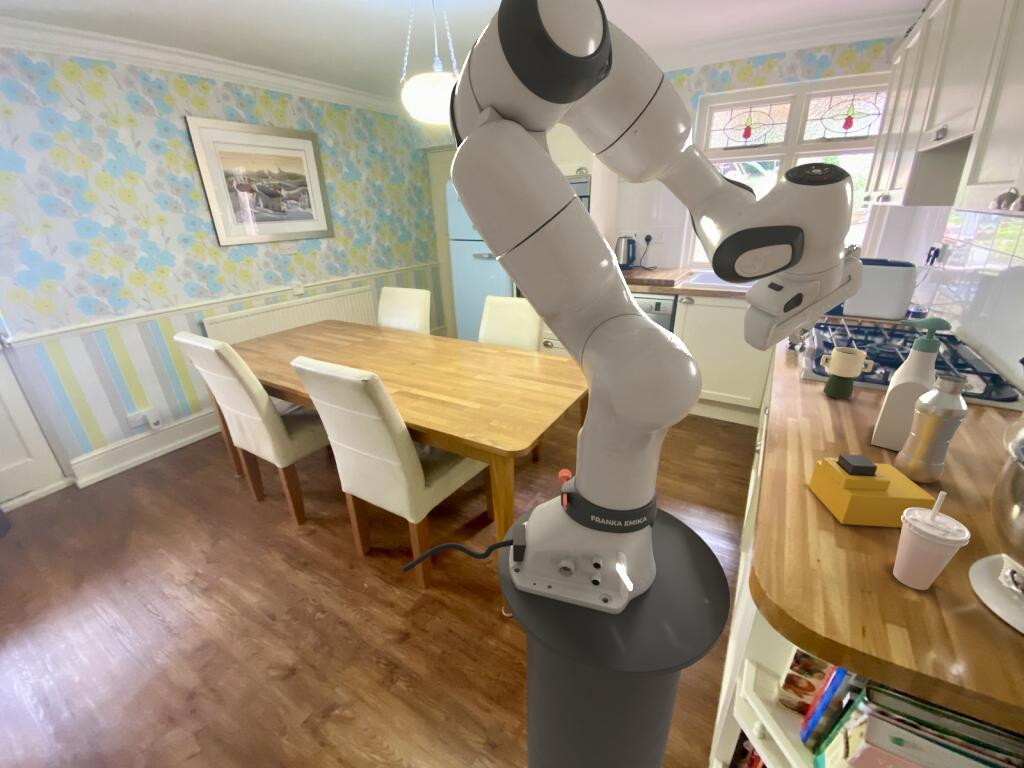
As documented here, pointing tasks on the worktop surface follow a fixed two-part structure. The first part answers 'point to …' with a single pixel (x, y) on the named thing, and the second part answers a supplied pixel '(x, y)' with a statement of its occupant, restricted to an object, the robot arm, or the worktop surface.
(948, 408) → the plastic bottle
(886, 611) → the worktop surface
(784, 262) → the robot arm
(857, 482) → the stepped yellow pedestal
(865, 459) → the block
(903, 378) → the soap bottle
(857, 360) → the character mug
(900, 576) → the smoothie
